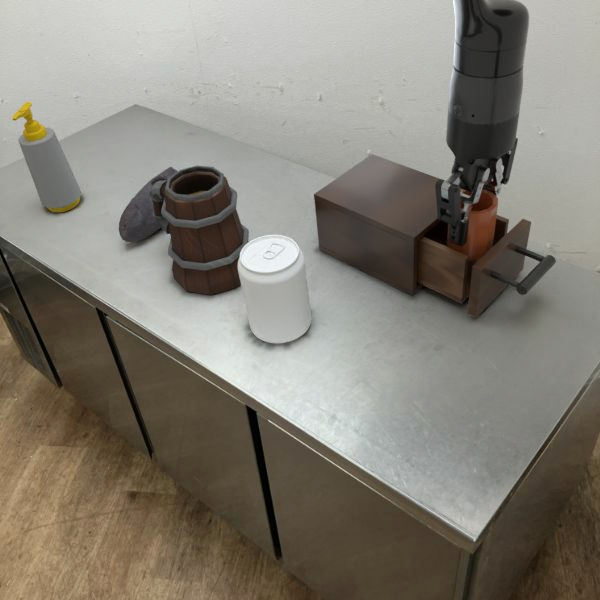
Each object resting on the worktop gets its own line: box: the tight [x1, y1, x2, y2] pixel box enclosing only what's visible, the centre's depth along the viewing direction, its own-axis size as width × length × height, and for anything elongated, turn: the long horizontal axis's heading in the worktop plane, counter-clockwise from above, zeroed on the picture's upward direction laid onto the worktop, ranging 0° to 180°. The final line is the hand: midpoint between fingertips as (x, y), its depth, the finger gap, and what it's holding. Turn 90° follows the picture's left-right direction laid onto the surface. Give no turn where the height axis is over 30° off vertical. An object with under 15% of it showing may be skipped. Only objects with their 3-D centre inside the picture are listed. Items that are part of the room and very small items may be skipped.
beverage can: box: [238, 234, 312, 344], centre depth 81 cm, size 8×8×12 cm
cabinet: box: [313, 153, 461, 297], centre depth 91 cm, size 17×13×10 cm
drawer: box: [417, 214, 557, 319], centre depth 84 cm, size 20×12×8 cm, turn 47°
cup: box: [447, 189, 499, 260], centre depth 80 cm, size 6×6×7 cm
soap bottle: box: [11, 101, 82, 213], centre depth 106 cm, size 7×7×18 cm
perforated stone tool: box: [118, 166, 179, 243], centre depth 102 cm, size 15×5×7 cm, turn 147°
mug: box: [149, 165, 250, 296], centre depth 91 cm, size 16×12×15 cm
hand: (471, 230), depth 81 cm, fingers closed on cup, 5 cm apart
